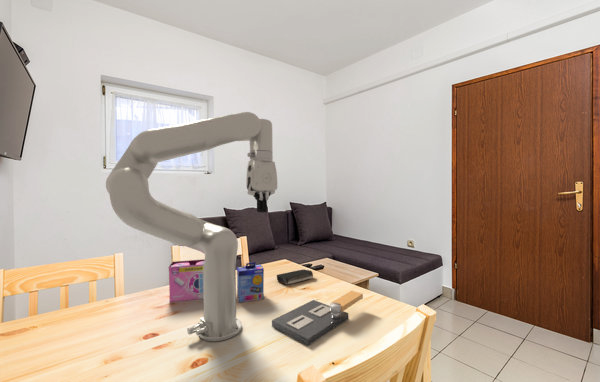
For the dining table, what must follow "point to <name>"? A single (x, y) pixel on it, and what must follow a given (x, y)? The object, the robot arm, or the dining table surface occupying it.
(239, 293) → the ink cartridge box
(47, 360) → the dining table surface
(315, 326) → the grey flat block
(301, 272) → the black sponge
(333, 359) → the dining table surface
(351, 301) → the swing arm
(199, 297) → the gum box
